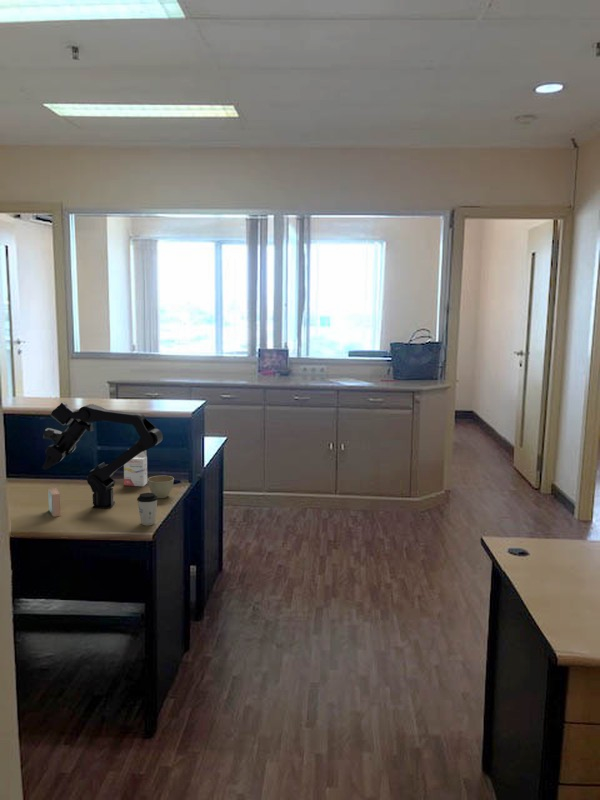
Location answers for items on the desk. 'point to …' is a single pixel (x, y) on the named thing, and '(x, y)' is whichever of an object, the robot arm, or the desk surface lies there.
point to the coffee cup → (147, 508)
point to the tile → (54, 502)
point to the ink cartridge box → (136, 470)
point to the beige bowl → (161, 485)
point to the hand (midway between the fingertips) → (47, 466)
